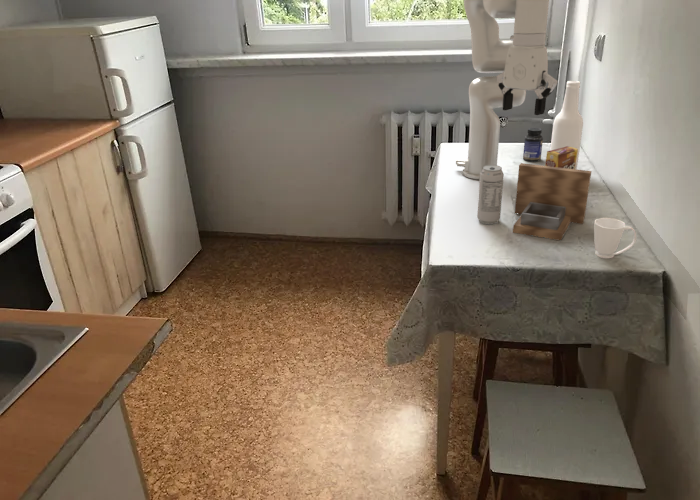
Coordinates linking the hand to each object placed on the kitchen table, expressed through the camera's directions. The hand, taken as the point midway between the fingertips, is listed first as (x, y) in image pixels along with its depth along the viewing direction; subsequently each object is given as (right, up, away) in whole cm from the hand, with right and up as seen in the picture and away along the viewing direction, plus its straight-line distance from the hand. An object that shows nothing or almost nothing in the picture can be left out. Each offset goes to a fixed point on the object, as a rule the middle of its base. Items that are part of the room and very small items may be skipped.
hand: (522, 111), depth 148 cm
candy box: (+16, -21, +22) cm, 34 cm away
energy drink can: (-7, -28, +10) cm, 30 cm away
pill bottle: (+21, -3, +59) cm, 62 cm away
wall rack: (+7, -29, +5) cm, 30 cm away
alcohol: (+25, -11, +42) cm, 50 cm away
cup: (+17, -37, -11) cm, 42 cm away
